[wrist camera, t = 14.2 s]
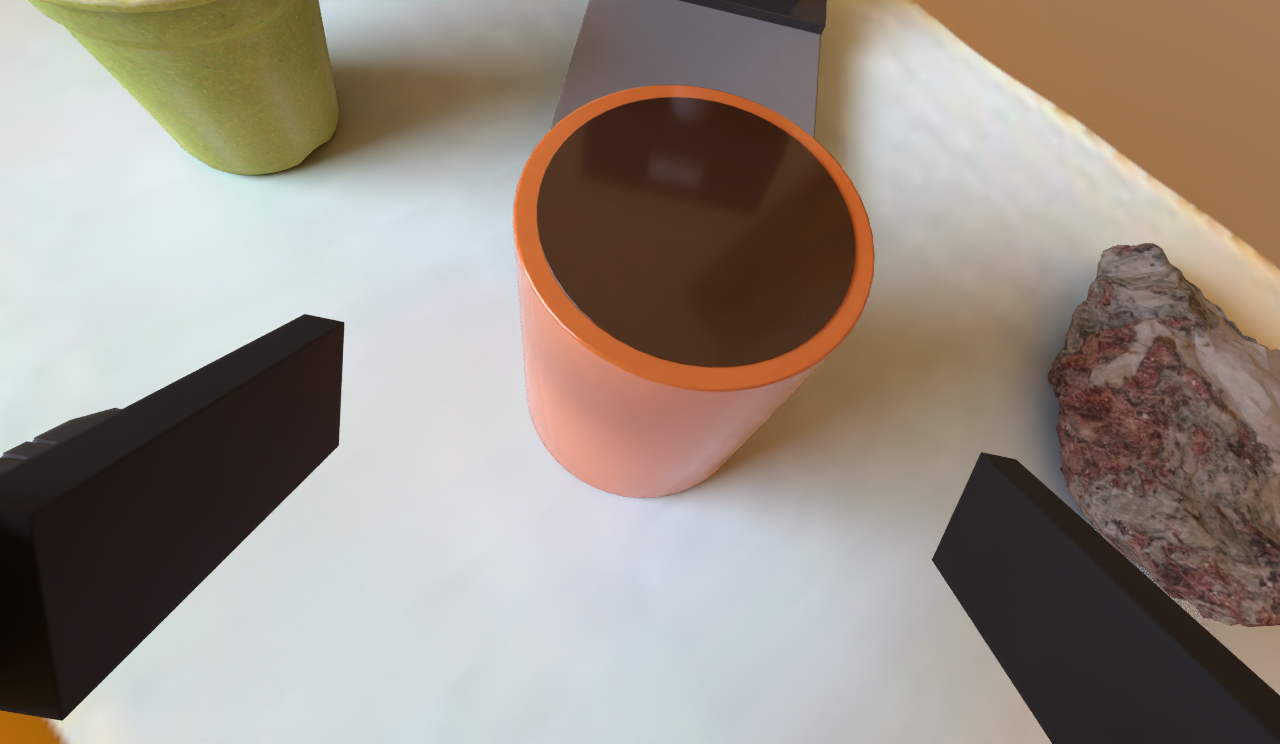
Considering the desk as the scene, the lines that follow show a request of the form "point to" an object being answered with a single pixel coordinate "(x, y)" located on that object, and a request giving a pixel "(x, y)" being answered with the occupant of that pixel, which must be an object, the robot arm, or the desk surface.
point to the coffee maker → (701, 51)
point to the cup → (678, 280)
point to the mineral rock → (1174, 436)
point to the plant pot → (217, 73)
